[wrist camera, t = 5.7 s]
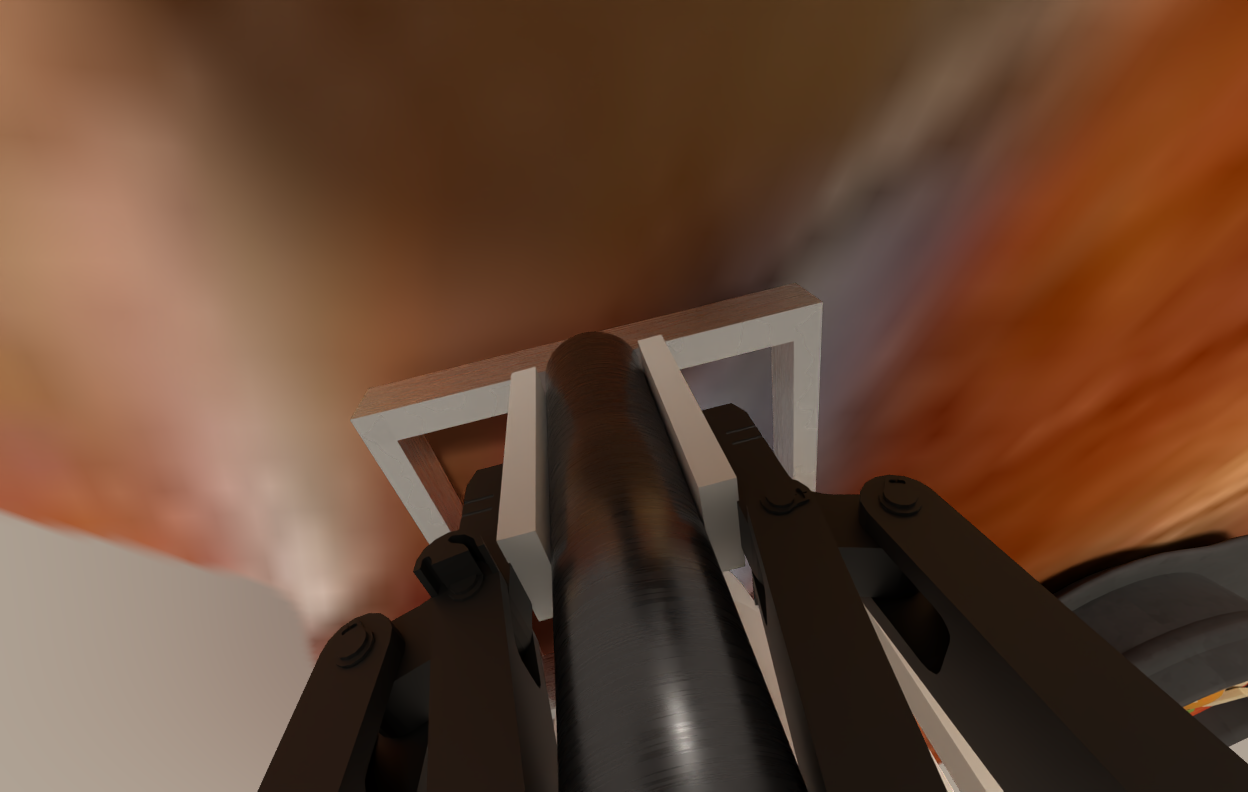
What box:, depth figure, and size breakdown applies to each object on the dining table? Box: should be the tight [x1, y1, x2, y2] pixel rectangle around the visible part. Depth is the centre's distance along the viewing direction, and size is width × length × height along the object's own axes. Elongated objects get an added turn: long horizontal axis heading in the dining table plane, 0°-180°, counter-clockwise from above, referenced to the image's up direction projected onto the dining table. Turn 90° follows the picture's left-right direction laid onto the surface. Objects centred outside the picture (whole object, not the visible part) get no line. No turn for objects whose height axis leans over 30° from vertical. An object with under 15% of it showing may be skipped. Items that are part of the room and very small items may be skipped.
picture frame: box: [350, 283, 823, 792], centre depth 16 cm, size 21×16×15 cm
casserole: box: [1053, 535, 1248, 747], centre depth 34 cm, size 25×19×8 cm
